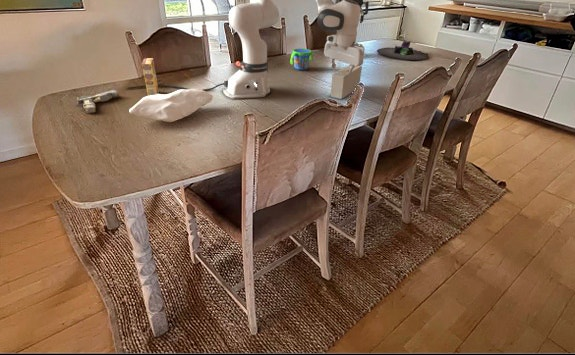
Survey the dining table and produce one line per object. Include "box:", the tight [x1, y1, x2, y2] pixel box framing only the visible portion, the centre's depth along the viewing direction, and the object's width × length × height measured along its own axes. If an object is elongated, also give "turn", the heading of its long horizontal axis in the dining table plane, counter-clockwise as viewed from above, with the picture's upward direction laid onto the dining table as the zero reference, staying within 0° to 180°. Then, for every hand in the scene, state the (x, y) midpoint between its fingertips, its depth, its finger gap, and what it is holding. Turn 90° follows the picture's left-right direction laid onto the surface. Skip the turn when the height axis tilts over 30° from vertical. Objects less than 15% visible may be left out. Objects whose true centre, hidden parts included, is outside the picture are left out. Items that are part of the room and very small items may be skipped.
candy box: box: [141, 57, 160, 96], centre depth 163 cm, size 9×4×15 cm, turn 13°
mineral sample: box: [376, 40, 430, 61], centre depth 247 cm, size 35×35×9 cm
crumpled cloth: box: [129, 88, 214, 123], centre depth 147 cm, size 24×35×9 cm
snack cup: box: [289, 48, 314, 71], centre depth 208 cm, size 16×10×10 cm
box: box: [330, 64, 363, 100], centre depth 178 cm, size 22×6×11 cm, turn 149°
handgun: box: [76, 89, 120, 114], centre depth 155 cm, size 3×18×15 cm
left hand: (341, 70), depth 169 cm, fingers open, 8 cm apart
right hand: (352, 22), depth 191 cm, fingers open, 8 cm apart
